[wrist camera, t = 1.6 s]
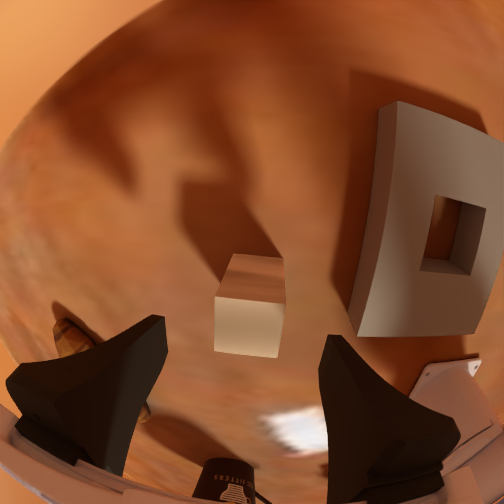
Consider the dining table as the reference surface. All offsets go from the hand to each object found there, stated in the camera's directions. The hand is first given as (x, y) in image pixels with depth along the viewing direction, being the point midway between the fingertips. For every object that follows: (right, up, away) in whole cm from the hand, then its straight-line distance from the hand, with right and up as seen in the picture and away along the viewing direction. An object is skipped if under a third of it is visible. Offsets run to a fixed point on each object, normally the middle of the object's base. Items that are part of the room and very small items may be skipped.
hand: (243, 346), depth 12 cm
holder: (+13, +6, +5) cm, 15 cm away
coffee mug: (-2, -25, +17) cm, 30 cm away
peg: (+1, +2, +7) cm, 7 cm away
